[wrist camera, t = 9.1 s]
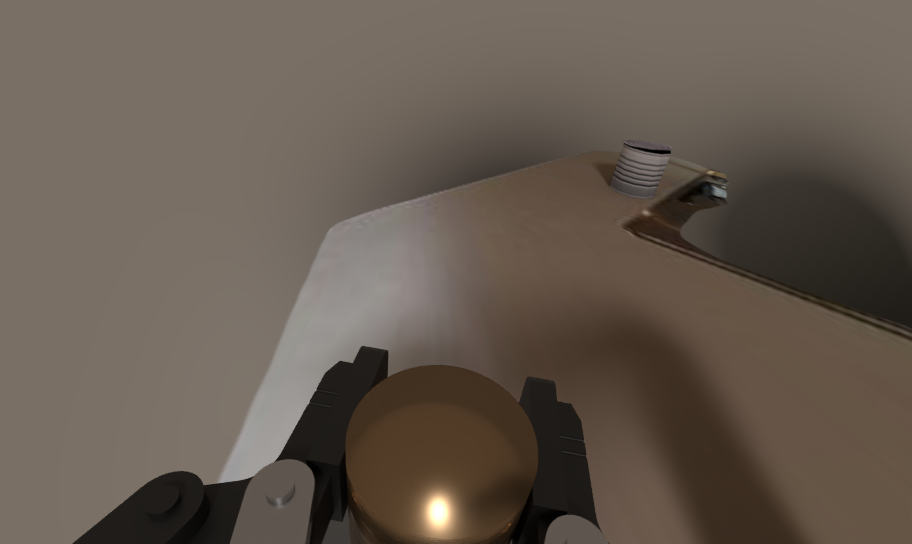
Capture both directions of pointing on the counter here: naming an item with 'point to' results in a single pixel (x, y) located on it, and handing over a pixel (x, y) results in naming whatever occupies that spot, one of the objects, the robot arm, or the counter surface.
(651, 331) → the counter surface
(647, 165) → the can
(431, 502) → the plunger
